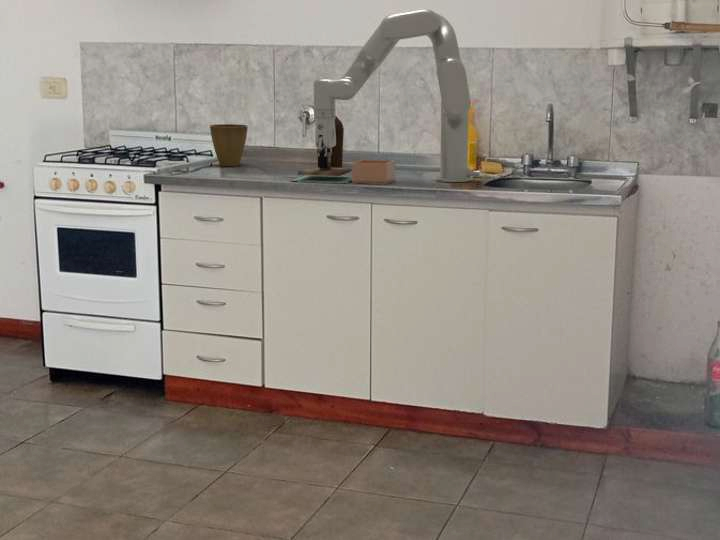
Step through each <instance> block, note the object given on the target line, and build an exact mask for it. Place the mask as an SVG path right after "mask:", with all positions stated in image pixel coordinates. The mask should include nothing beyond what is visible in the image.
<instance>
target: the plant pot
mask: <svg viewBox="0 0 720 540" xmlns="http://www.w3.org/2000/svg"><path fill="white" fill-rule="evenodd" d="M248 128H249V125H246V124H236V123H235V124H234V123H233V124H232V123H231V124H229V123H228V124H227V123H226V124H225V123H224V124H223V123H222V124H219V123H218V124H210V125H209V130H210V137H211V141H212V145H213V150H214V151H215V156H216V159H217V161H218V164H219V166H220V165H221V166H220V167H225V166H230V167H232V166H233V167H238V166H240V164H241V160H242V156H243V153H244V150H245V146H246V141H247V136H248Z"/></svg>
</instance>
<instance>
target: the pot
mask: <svg viewBox="0 0 720 540" xmlns="http://www.w3.org/2000/svg"><path fill="white" fill-rule="evenodd" d="M352 177H353V181H352V184H357V183H370V184H369V185H389V184H391V183H394V182H395V181H396V160H391V159H390V160H389V159H386V160H384V159H382V160H381V159H360V160H357V161H354V162H352ZM390 182H391V183H390ZM388 183H389V184H388Z"/></svg>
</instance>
